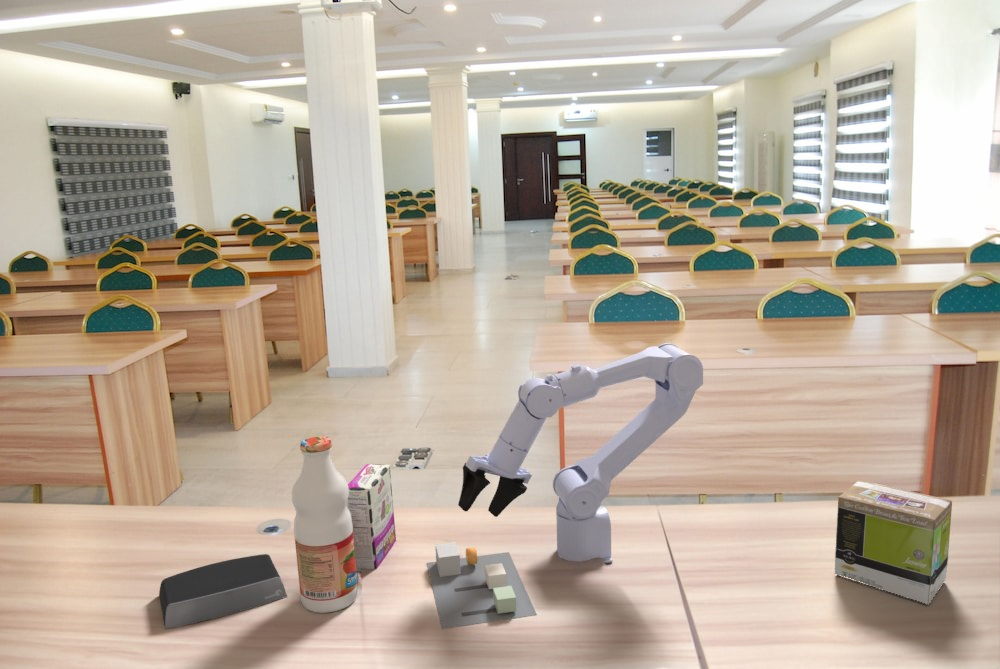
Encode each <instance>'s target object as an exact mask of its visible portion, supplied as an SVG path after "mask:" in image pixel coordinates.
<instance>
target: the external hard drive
mask: <svg viewBox="0 0 1000 669" xmlns="http://www.w3.org/2000/svg"><path fill="white" fill-rule="evenodd" d="M158 593H159V594H158V595H159V600H160V601H159V602H160V603H159V604H160V608H161V612H162V620H163V625H164V626H163V627H164V629H165V630H166V629H167V630H168V629H173V628H178V627H182V626H186V625H191V624H192V625H193V624H195V623H200V622H205V621H208V620H212V619H213V620H214V619H216V618H219V617H223V616H228V615H231V614H235V613H239V612H241V611H245V610H248V609H252V608H256V607H259V606H263V605H266V604H269V603H272V602H274V601H279V600H281V599H284V598H286V597H288V594H287V590H286V588H285V585H284V583H283V580H282V578H281V576H280V574H279V572H278V571H277V568H276V566H275V564H274V563H273V560H272V558H271V556H270V554H267V553H264V554H258V555H256V554H255V555H249V556H243V557H238V558H233V559H227V560H223V561H219V562H214V563H210V564H207V565H202V566H198V567H196V568H193V569H190V570H187V571H182V572H180V573H177V574H174V575H171V576H169V577H166V578H164V579H162V581H161V582H160V587H159V592H158ZM283 597H284V598H283Z"/></svg>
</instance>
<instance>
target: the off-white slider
mask: <svg viewBox="0 0 1000 669" xmlns="http://www.w3.org/2000/svg"><path fill="white" fill-rule="evenodd" d="M485 580H486V582H487V585H488V588H489V589H493V588H498V587H505V586H507V582H506V572H505V570H504V567H503V565H502V563H500V564H492V565H485Z"/></svg>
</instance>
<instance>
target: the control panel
mask: <svg viewBox="0 0 1000 669" xmlns="http://www.w3.org/2000/svg"><path fill="white" fill-rule="evenodd" d="M434 547H435V560H436V561H431V562H426V565H427V570H428V575H429V579H430V582H431V583H430V584H431V587H432V591H433V596H434V600H435V605H436V609H437V614H438V616H439V622H440V626H441V629H442V630H444V629H449V628H457V627H465V626H472V625H478V624H485V623H486V624H487V623H492V622H498V621H505V620H512V619H521V618H525V617H526V618H527V617H533V616H538V614H537V612H536V609H535V607H534V605H533V602H532V601H531V599H530V596H529V594H528V592H527V589H526V587H525V584H524V583H523V581H522V578H521V577H520V574H519V572H518V570H517V567H516V565H515V563H514V561H513V559H512V556H511V554H510V552H509V551H507V552H499V553H491V554H486V555H485V554H484V555H477V564H470V565H468V564H467V560H466V557H461V555H460V551H459V549H458V546H457V542H456V541H452V542H442V543H437V544H435V546H434ZM500 563H502V565H503V567H504V570H505V572H506V582H507V586H512V589H513V591H514V593H515V596H516V609H517V611H514V612H507V613H500V614H498V613H497V610H496V607H495V604H494V601H493V589H489V588H488V585H487V582H486V580H485V565H492V564H500Z"/></svg>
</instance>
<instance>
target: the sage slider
mask: <svg viewBox="0 0 1000 669" xmlns="http://www.w3.org/2000/svg"><path fill="white" fill-rule="evenodd" d="M493 601H494V604H495V607H496V610H497V613H498V614H500V613H507V612H514V611H517V609H516V596H515V593H514V591H513V589H512V586H505V587H498V588H493Z"/></svg>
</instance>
